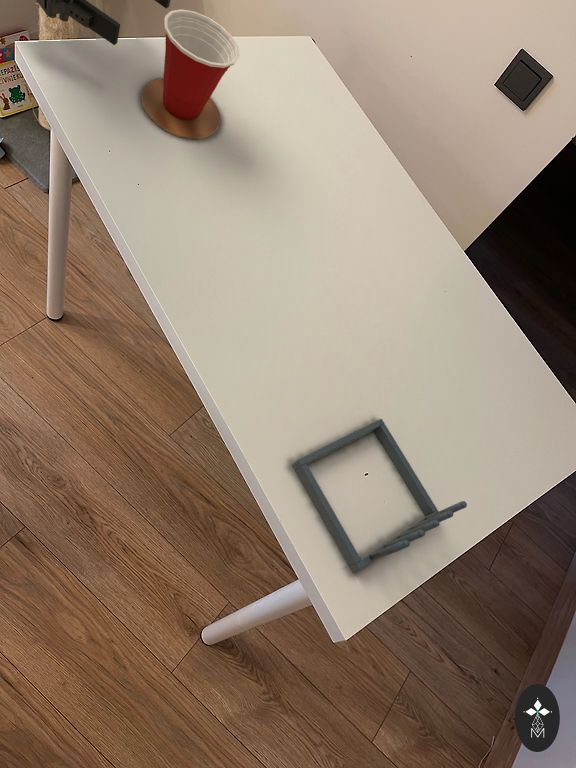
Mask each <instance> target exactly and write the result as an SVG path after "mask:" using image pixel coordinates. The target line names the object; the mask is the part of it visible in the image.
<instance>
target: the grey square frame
mask: <svg viewBox="0 0 576 768" xmlns="http://www.w3.org/2000/svg"><path fill="white" fill-rule="evenodd" d="M372 432H374V434H375V435H376V437H377V438H378V440H379V442H380V444H381V445H382V447H383V448H384V450H385V452H386V453H387V455H388V457H389V458H390V460H391V462H392V463H393V465H394V466H395V468H396V471H398V473H399V475H400V476H401V478H402V480H403V481H404V483H405V484H406V486H407V488H408V489H409V491H410V493H411V495H412V496H413V498H414V500H415V501H416V503H417V504H418V506H419V507H420V509H421V511H422V512H423V514H424V516H423V517H421V518H420V519H418V520H417V521H416V522H414V523H412V524H411V525H410V526H408V527H406V528H404V529H403V530H402V531H400V532H399V533H397V534H396V535H394V536H393V537H391V538H389V539H388V540H386V541H385V542H383V543H382V544H381V545H379V546H377V547H376V548H374V549H373V550H372V551H369V552H368V553H366V554H365V555H364V556H362V557H360V555H359V553H358V552H357V550H356V548H355V546H354V544H353V542H352V541H351V539H350V537H349V536H348V534H347V532H346V531H345V529H344V527H343V526H342V524H341V522H340V520H339V518H338V517H337V514H336V513H335V511H334V509H333V507H332V506H331V504H330V502H329V501H328V499H327V497H326V495H325V494H324V491H322V488H321V487H320V485H319V483H318V481H317V480H316V478H315V476H314V475H313V472H312V470H311V469H310V467H309V466H308V465H310V464H312V463H313V462H315V461H317V460H319V459H321V458H323V457H325V456H327V455H330V454H331V453H332V452H335V451H337V450H339V449H341V448H343V447H345V446H347V445H349V444H351V443H353V442H355V441H357V440H359V439H362V437H364V436H367V435H368V434H370V433H372ZM291 466H292V467H293V469H294V471H295V473H296V474H297V477H298V478H299V481H300V482H301V484H302V485H303V487H304V489H305V491H306V493H307V494H308V496H309V498H310V500H311V501H312V503H313V505H314V507H315V508H316V510H317V512H318V514H319V515H320V517H321V519H322V521H323V523H324V524H325V527H326V528H327V531H329V533H330V535H331V537H332V538H333V540H334V542H335V544H336V546H337V548H338V550H339V551H340V553H341V555H342V557H343V558H344V561H346V563H347V565H348V567H349V568H350V570H351V572H352V573H355V572H358V571H361V570H362V569H363V568H365V567H367V566H368V565H370V564H371V563H372V562H375V561H376V560H379V559H381V558H384V557H386V556H389V555H392V554H394V553H396V552H400V551H401V550H404V549H407V548H409V547H410V545H411V542H413V541H416V540H419V539H421V538H424V537H425V536H426V532H429V531H431V530H433V529H436V528H438V527H439V526H440V523H441V522H444V521H447V520H448V519H450V518H451V519H452V518H453V516H454V513H457V512H459V511H461V510H464V509H466V508H467V506H468V504H467V501H465V500H462V501H458V502H457V503H455V504H452V505H449V506H448V507H446V508H444V509H441V510H438V508H437V507H436V505H435V503H434V501H433V500H432V498H431V496H430V495H429V493H428V491H427V490H426V488H425V487H424V485H423V483H422V482H421V481H420V479H419V477H418V476H417V474H416V472H415V471H414V469H413V467H412V466H411V463H410V462H409V461H408V459H407V458H406V456H405V454H404V453H403V451H402V449H401V448H400V446H399V445H398V443H397V441H396V440H395V438H394V436H393V435H392V433H391V431H390V429H389V428H388V427H387V425H386V424H385V421H384V420H383V419H382V418H380V419H377V420H375V421H374V422H371V423H370V424H368V425H365V426H363V427H361V428H359V429H357V430H355V431H353V432H351V433H349V434H347V435H345V436H343V437H342V438H339V439H336V440H335V441H333V442H331V443H329V444H327V445H325V446H323V447H321V448H319V449H317V450H315V451H313V452H311V453H309V454H307V455H305V456H303V457H301V458H298V459H297V460H296V461H295V462H294V463H292V464H291Z"/></svg>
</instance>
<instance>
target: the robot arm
mask: <svg viewBox="0 0 576 768" xmlns="http://www.w3.org/2000/svg"><path fill="white" fill-rule="evenodd" d="M35 1H36V2H37V3H38V5H39V6H40V8H41V10H42V11H43V12H44V13H45V15H46V16H47V17H48V18H51V19H56V18H57V15H58V19H59V20H60V21H62V22H65V23H66V22H68V21H69V20H70V18H71V19H73V20H74V21H75V22H77V23H78V24H80V25H81V26H83V27H84V28H87V29H89V30H91V31H93V32H94V33H96V34H97V35H98V36H100V37H101V38H102V39H104V40H105V41H107V42H109V44H111V45H113V46H115V45H117V44H118V41H119V36H120V35H119V34H120V30H121V29H120V28H121V23H119V22H118V21H117V20H115V19H113V18H112V17H111V16H109V15H108V14H107V13H105V12H104V11H103V10H101V9H99V8H98V7H97V6H95V5H93V4H92V3H91V2H89V1H88V0H35ZM154 1H155V2H156V3H157V4H159V5H160V6H161V7H163V8H165V9H168V8H170V5H171V0H154Z"/></svg>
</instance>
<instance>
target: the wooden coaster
mask: <svg viewBox="0 0 576 768" xmlns="http://www.w3.org/2000/svg"><path fill="white" fill-rule="evenodd" d="M163 86H164V85H163V77H161V78H157V79H153V80H151V81H150V82H148V83H147V84H146V85H145V86H144V88H143V90H142V94H141V104H142V107H143V110H144V112H145V113H146V115H147V117H148V118H149V119H150V121H152V122H153V123H154V124H155V125H156V126H158V128H160V129H162V130H163V131H165V132H167V133H169V134H171V135H173V136H175V137H178V138H182V139H186V140H203V139H207V138H208V137H211V136H212V135H214V134H215V133H216V132H217V130H218V129H219V126H220V123H221V113H220V110H219V108H218V106H217V104H216V102H215V101H214V100H213V98H211V97H210V98H209V100H208V102H207V103H206V104H205V106H204V108H203V110H202V112H201V113H200V115H199V116H198V117H197V118H196V119H193V120H183V119H179V118H177V117H175V116H173V115H171V114H170V113H169V112H168V111H167V110H166V108H165V106H164V104H163Z"/></svg>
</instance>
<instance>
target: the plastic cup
mask: <svg viewBox="0 0 576 768" xmlns="http://www.w3.org/2000/svg"><path fill="white" fill-rule="evenodd" d="M164 32H165V41H164V43H165V44H164V46H165V47H164V48H165V51H164V64H163V65H164V66H163V77H162V78H163V85H164V86H163V104H164V106H165V108H166V110H167V111H168V112H169V113H170V114H171V115H173V116H175V117H177V118H179V119H183V120H193V119H196V118H197V117H198V116H199V115H200V113H201V112H202V110H203V108H204V106H205V104H206V103H207V102H208V100H209V98H211V97H212V95H213V93H214V91H215V90H216V88H217V87H218V85H219V83H220V81H221V80H222V78H223V76H224V75H225V74H226V72H227V71H228V70H229V68H230V67H232V66H234V65H235V64H236V63H237V61H238V60H239V58H240V56H241V54H240V47H239V45H238V43H237V42H236V39H235V38H234V37H233V35H232V34H231V33H229V31H228V30H227V29H225V27H223V25H221V24H219V22H216V21H215V20H213V19H212V18H210V17H208V16H207V15H204V14H202V13H199V12H197V11H193V10H189V9H182V8H180V9H175V10H169V12H168V13H167V14H166V15H165V16H164Z"/></svg>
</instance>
